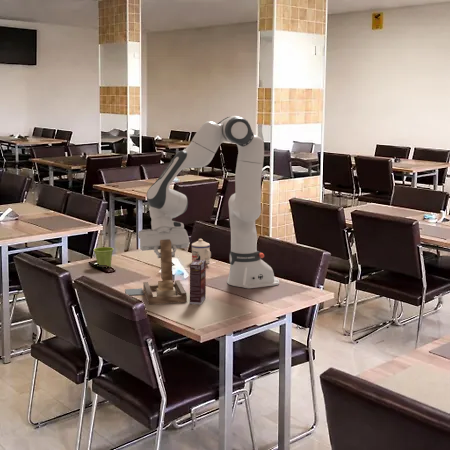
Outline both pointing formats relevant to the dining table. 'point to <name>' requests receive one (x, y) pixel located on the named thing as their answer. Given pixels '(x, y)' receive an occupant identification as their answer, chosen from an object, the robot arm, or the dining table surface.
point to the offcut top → (165, 285)
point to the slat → (166, 259)
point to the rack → (165, 299)
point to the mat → (134, 291)
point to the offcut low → (166, 292)
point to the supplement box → (197, 282)
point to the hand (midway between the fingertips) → (166, 256)
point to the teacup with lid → (201, 251)
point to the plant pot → (104, 255)
